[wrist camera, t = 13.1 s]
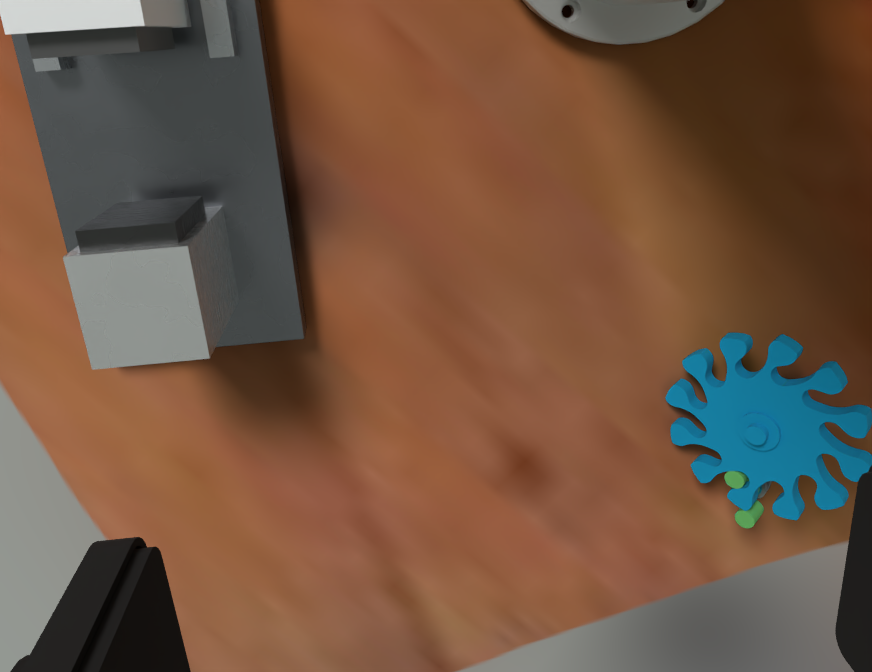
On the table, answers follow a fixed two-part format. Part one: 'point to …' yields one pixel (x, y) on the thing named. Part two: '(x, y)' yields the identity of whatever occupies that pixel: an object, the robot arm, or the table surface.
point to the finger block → (94, 25)
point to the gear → (768, 428)
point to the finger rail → (171, 190)
